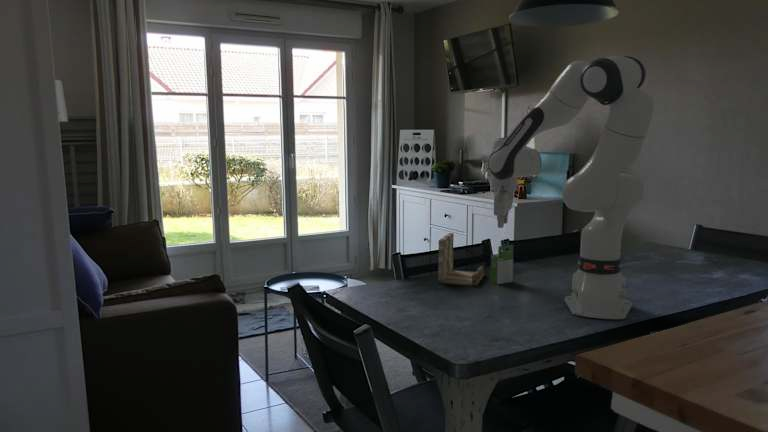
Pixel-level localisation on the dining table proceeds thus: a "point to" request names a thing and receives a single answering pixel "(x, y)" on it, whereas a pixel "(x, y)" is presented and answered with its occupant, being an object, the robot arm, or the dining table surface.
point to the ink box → (502, 266)
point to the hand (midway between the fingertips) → (502, 225)
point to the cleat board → (446, 266)
